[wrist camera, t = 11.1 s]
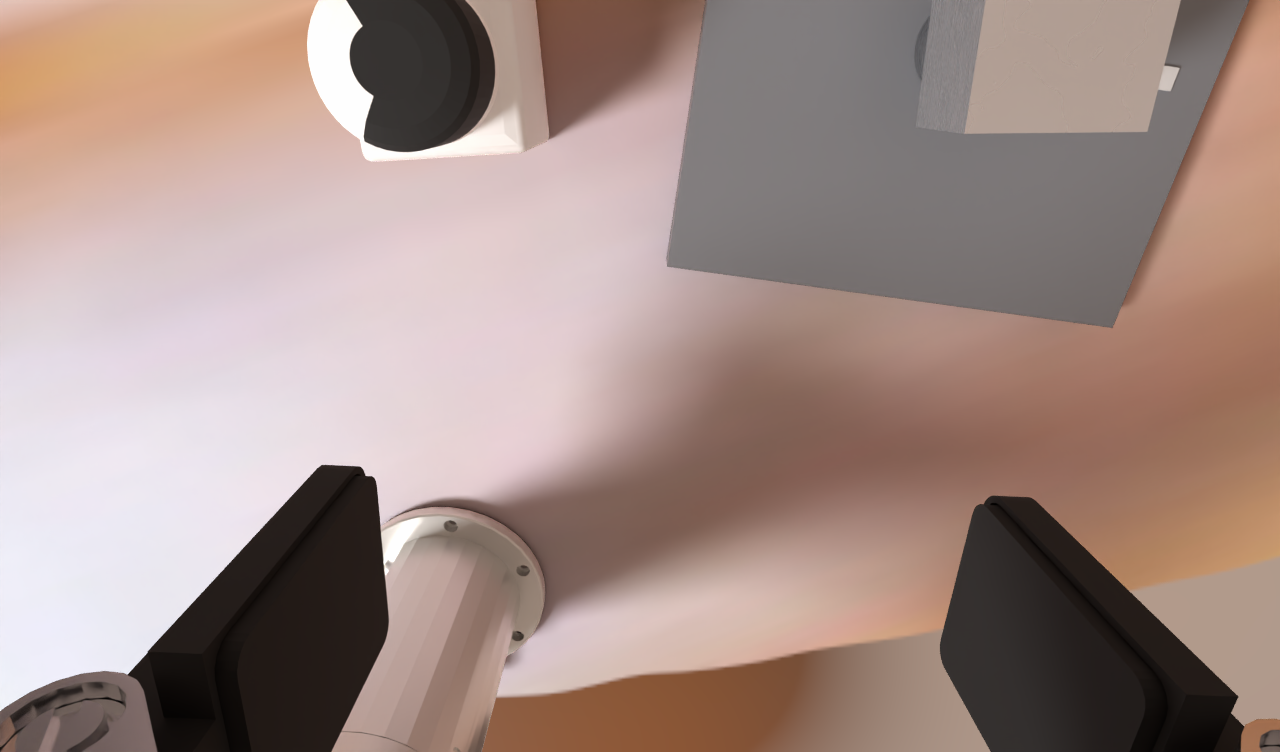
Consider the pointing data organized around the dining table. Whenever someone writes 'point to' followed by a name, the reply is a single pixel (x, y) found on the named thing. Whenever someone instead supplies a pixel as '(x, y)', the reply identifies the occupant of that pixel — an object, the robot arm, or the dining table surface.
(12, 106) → the dining table surface
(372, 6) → the medicine bottle
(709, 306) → the dining table surface
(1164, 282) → the dining table surface
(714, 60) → the base board
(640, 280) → the dining table surface
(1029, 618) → the robot arm
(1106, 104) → the mallet
